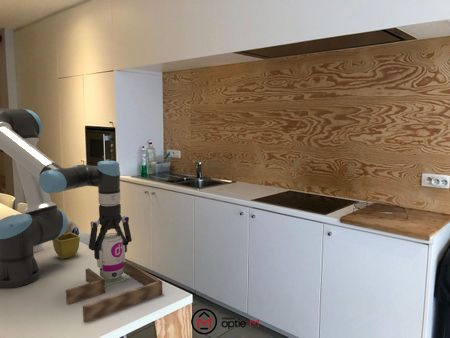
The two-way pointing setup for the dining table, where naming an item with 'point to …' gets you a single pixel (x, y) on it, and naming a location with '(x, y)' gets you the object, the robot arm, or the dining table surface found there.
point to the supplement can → (112, 256)
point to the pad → (115, 280)
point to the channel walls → (117, 301)
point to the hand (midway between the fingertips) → (111, 264)
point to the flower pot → (66, 245)
